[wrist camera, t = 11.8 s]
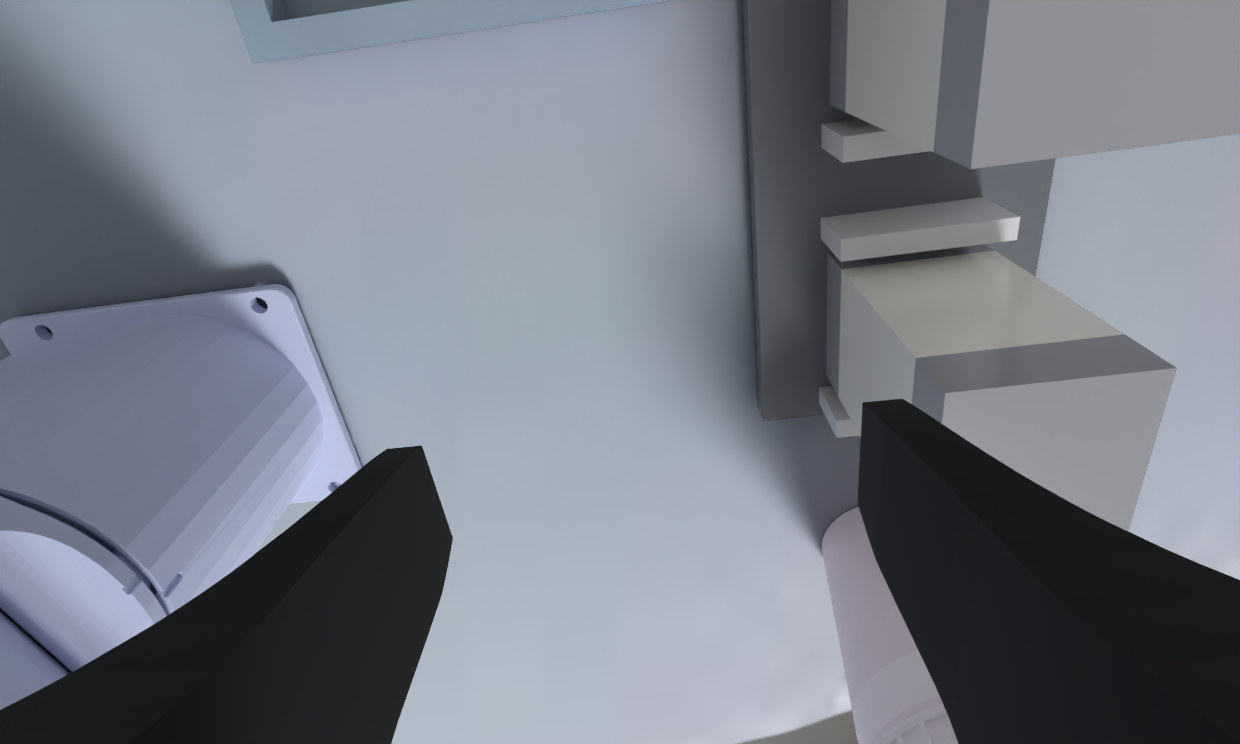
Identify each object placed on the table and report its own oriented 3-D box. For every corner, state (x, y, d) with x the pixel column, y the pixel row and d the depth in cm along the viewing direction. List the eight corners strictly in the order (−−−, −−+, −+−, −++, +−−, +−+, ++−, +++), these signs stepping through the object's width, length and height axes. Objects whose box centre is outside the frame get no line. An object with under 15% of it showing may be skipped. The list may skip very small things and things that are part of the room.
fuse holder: (759, 408, 23) (775, 456, 20) (713, -698, 12) (737, -886, 9) (1002, 381, 22) (1050, 428, 20) (1191, -805, 11) (1350, -1036, 9)
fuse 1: (829, 104, 17) (970, 169, 10) (832, -80, 15) (1007, -156, 8) (988, 82, 17) (1247, 132, 10) (1010, -108, 15) (1348, -212, 8)
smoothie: (771, 596, 27) (896, 1094, 14) (805, 467, 24) (999, 958, 11) (928, 606, 27) (1182, 1105, 15) (981, 479, 24) (1359, 975, 12)
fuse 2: (825, 374, 21) (927, 557, 14) (827, 252, 19) (945, 393, 12) (955, 359, 21) (1126, 538, 14) (970, 235, 19) (1177, 368, 12)
